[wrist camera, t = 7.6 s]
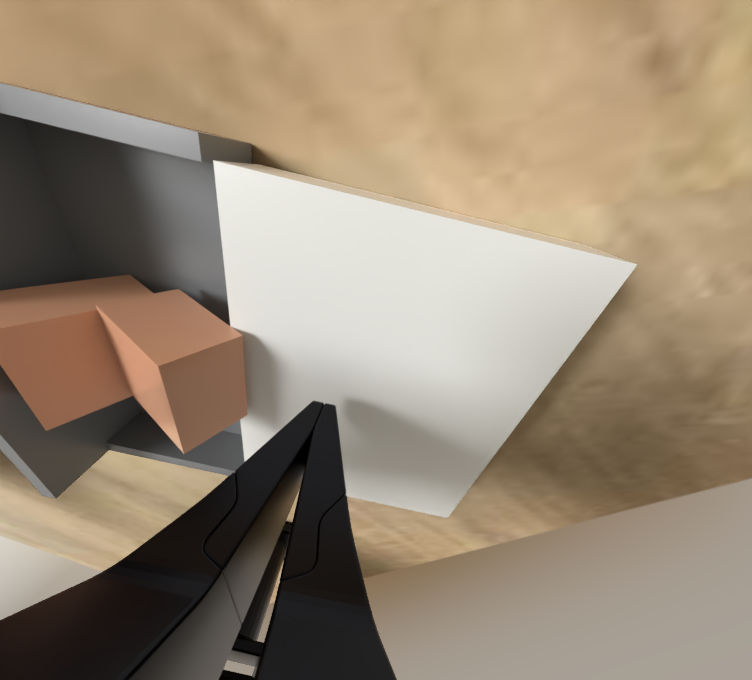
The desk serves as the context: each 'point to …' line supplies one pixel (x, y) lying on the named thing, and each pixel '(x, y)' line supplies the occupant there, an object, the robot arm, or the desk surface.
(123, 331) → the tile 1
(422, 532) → the desk surface
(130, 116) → the tray
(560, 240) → the board
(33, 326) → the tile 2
